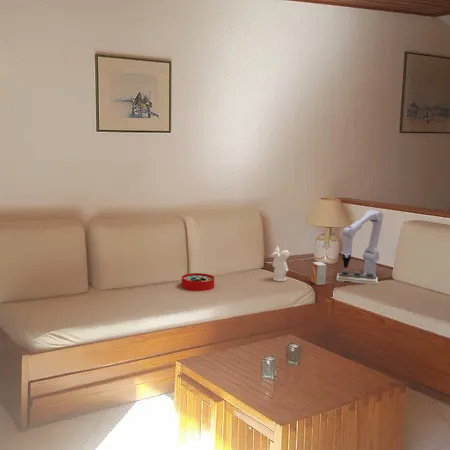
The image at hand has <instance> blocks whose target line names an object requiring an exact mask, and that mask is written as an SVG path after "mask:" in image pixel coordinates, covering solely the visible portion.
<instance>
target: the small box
mask: <svg viewBox="0 0 450 450" xmlns="http://www.w3.org/2000/svg"><path fill="white" fill-rule="evenodd" d="M326 278H327V264H326V263H324V262H322V261H313V262H312V264H311V278H310V282H311V283H313V284H315V286H321V285H322V286H323V285H326Z"/></svg>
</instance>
